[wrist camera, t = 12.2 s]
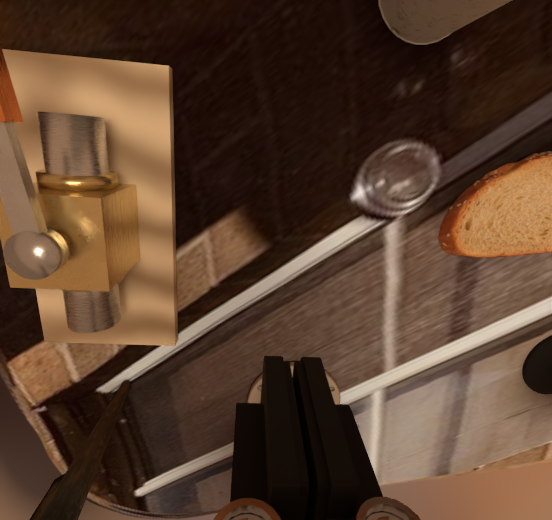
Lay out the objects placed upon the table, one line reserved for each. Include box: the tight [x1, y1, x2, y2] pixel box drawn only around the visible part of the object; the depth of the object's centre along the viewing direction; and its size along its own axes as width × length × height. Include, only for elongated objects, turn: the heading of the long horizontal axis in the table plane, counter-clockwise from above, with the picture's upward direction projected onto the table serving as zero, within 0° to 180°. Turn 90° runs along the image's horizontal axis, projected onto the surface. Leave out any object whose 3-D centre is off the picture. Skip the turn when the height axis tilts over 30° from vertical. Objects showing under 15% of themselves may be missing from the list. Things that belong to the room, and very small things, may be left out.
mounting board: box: [2, 49, 178, 346], centre depth 36 cm, size 30×15×2 cm, turn 176°
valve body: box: [0, 111, 141, 333], centre depth 31 cm, size 20×8×10 cm, turn 176°
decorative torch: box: [30, 381, 131, 520], centre depth 30 cm, size 7×7×30 cm
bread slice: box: [438, 151, 552, 258], centre depth 38 cm, size 18×18×4 cm
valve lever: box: [0, 44, 69, 280], centre depth 23 cm, size 17×4×2 cm, turn 5°
